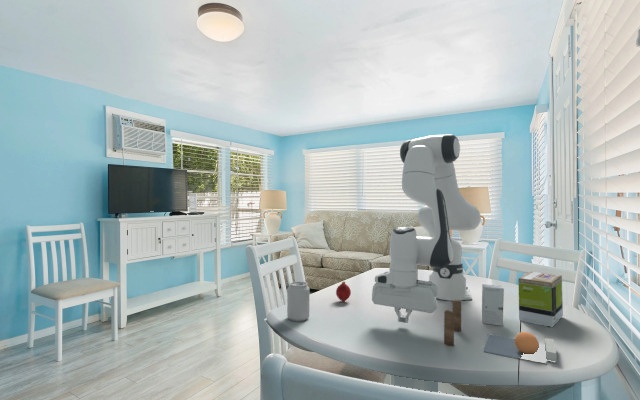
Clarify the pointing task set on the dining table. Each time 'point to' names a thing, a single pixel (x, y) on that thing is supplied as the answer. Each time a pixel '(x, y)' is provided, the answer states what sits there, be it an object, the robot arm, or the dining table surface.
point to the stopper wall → (550, 349)
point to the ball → (526, 343)
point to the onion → (343, 292)
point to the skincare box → (492, 304)
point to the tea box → (540, 298)
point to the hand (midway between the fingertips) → (403, 322)
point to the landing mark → (502, 346)
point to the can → (298, 301)
